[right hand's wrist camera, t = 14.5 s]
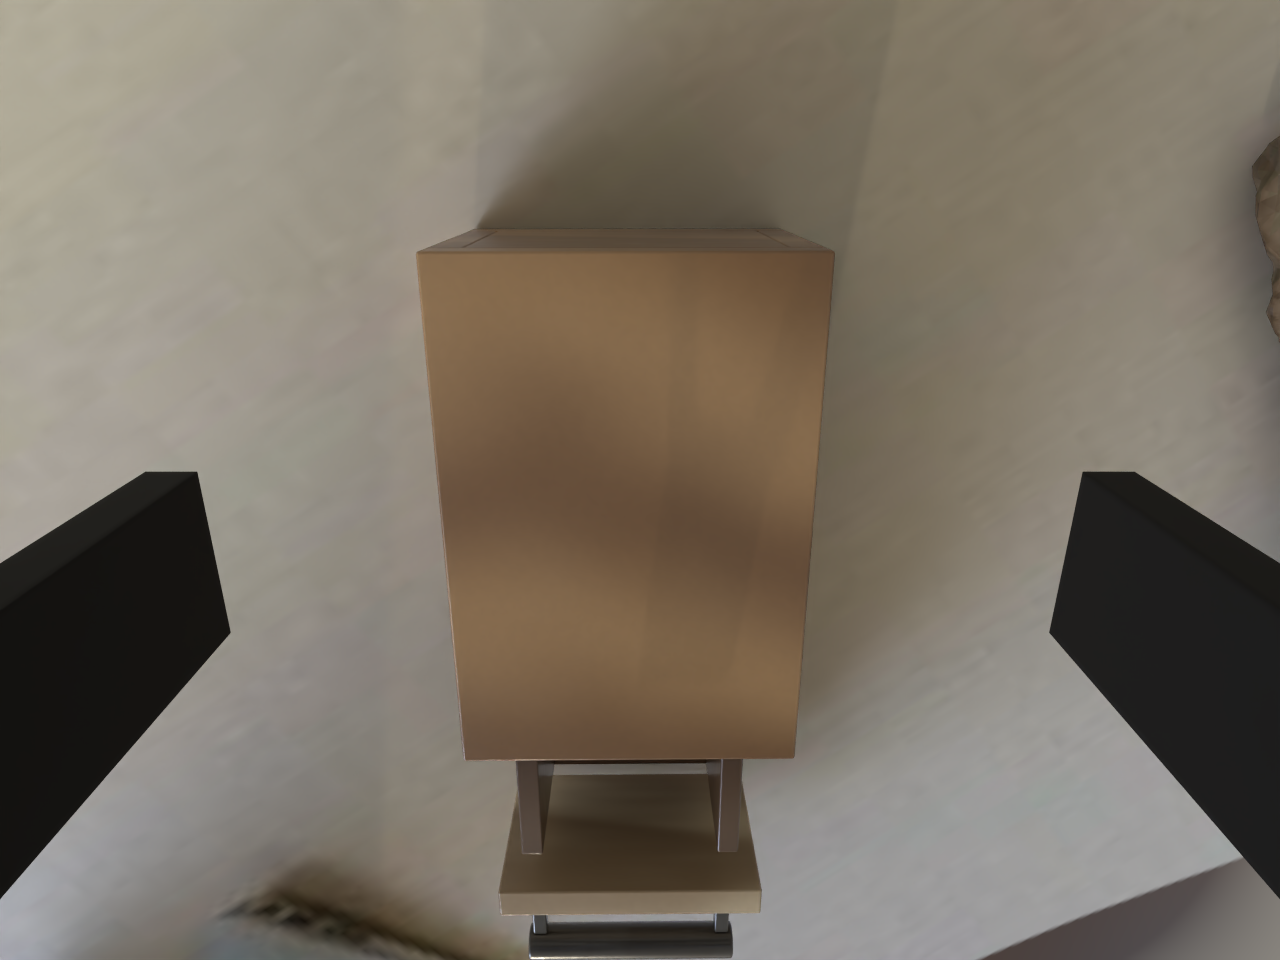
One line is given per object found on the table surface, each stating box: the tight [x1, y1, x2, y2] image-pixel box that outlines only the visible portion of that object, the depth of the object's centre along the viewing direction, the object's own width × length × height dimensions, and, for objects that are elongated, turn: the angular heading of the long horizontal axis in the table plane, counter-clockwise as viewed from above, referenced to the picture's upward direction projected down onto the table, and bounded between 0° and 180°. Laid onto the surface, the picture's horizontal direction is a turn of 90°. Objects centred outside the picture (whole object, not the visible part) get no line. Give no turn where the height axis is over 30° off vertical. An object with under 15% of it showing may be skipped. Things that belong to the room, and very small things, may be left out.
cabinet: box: [416, 229, 835, 761], centre depth 29 cm, size 17×11×9 cm
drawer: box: [499, 759, 762, 960], centre depth 33 cm, size 21×10×6 cm, turn 0°
